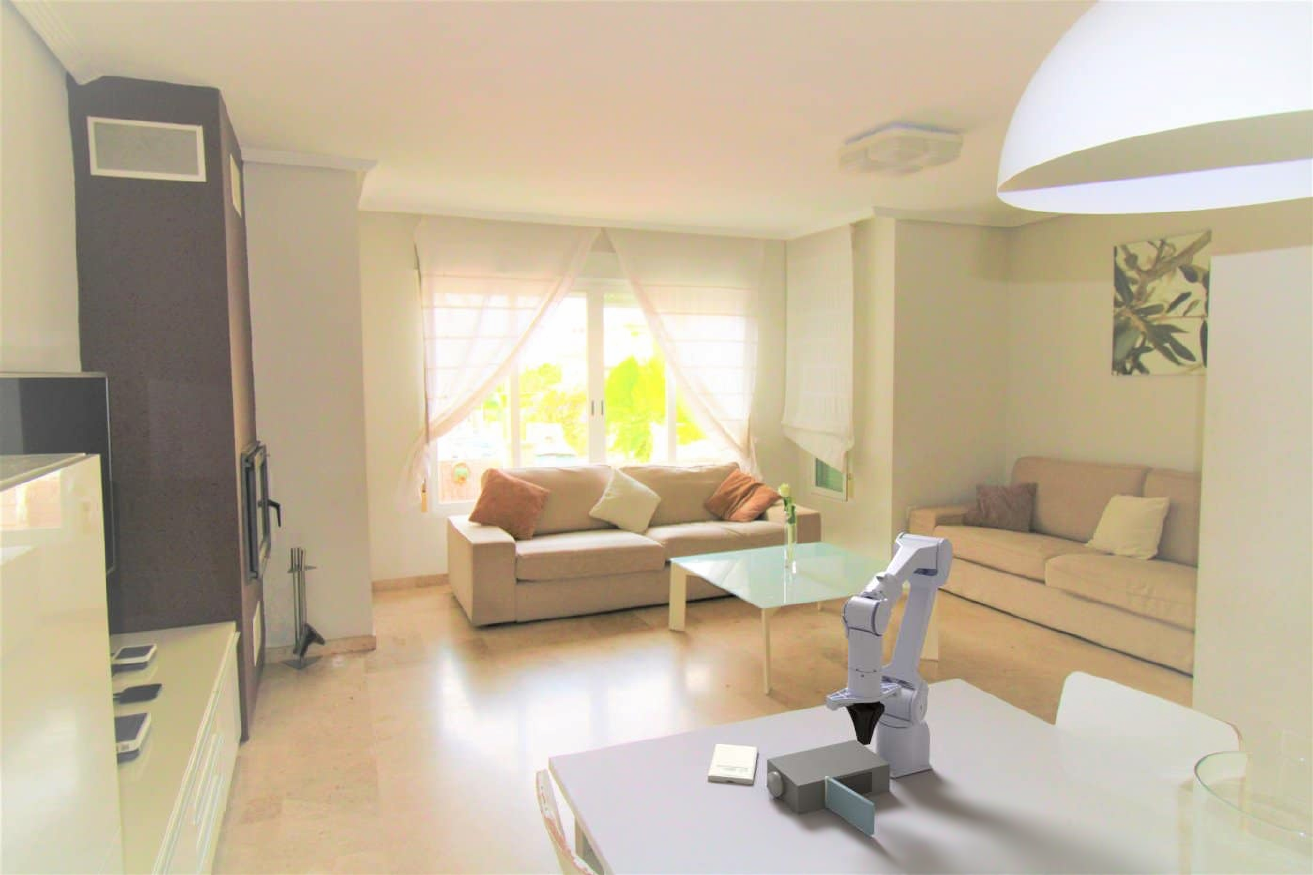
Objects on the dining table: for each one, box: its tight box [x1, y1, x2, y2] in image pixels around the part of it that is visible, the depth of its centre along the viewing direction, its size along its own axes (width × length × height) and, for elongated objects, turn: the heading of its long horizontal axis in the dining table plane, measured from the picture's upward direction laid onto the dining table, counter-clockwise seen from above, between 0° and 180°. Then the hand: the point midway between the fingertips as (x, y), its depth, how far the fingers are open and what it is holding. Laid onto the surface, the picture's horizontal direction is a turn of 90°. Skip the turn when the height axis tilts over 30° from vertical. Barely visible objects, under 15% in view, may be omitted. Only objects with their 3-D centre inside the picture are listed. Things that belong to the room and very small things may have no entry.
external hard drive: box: [707, 743, 759, 785], centre depth 149 cm, size 2×8×12 cm
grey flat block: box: [766, 739, 891, 815], centre depth 140 cm, size 20×10×5 cm, turn 113°
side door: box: [825, 776, 876, 836], centre depth 130 cm, size 10×1×5 cm, turn 32°
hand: (863, 742), depth 138 cm, fingers closed
